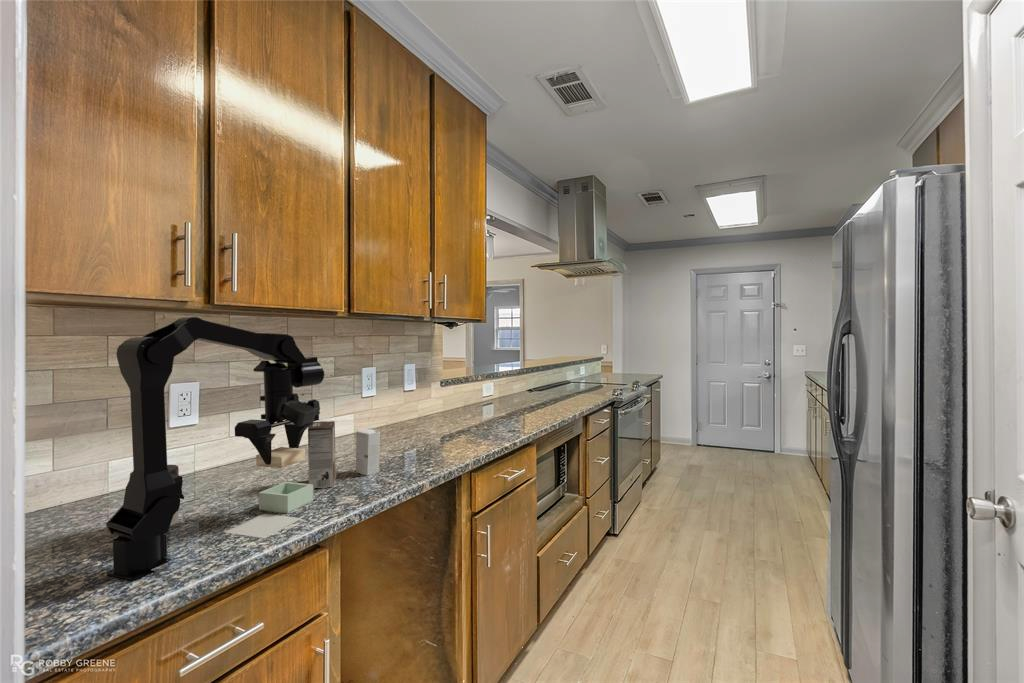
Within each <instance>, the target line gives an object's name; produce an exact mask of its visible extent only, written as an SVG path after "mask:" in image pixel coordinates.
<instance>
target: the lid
mask: <svg viewBox="0 0 1024 683" xmlns="http://www.w3.org/2000/svg"><path fill="white" fill-rule="evenodd" d="M255 460H256V461H255V462H256V463H255V465H256V467H263V468H275V469H284V468H287V467H289V466H292V465H294V464H297V463H300V462H302V461H305V460H307V458H306V448H289V446H288V447H286V446H280V447H277V448H274V449H271V464H270V465H266V464H265V462H264V461H263V459H262V458H261V456H260V454H259V453H258V454H256V455H255Z"/></svg>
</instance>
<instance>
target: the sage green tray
mask: <svg viewBox="0 0 1024 683" xmlns="http://www.w3.org/2000/svg"><path fill="white" fill-rule="evenodd" d="M313 502H314V489H313V484H309V483H302V482H301V483H300V482H291V481H284V482H282V483H279V484H277V485H274V486H271V487H269V488H267V489H264V490H262V491H260V492H258V510H259V511H265V512H270V513H271V512H272V513H280V514H281V513H282V514H291V513H292V512H294V511H296V510H298V509H300V508H302V507H304V506H306V505H308V504H310V503H313Z"/></svg>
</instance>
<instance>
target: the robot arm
mask: <svg viewBox="0 0 1024 683" xmlns="http://www.w3.org/2000/svg"><path fill="white" fill-rule="evenodd" d="M195 341H200V342H204V343H209V344H210V343H211V344H215V345H220V346H225V347H230V348H234V349H240V350H243V351H246V352H249V353H250V354H251V355H254V356H256V357H259V358H261V359H263V360H260V362H259V363H258V365H256V366H255V367H254V368H253V372H256V373H263V389H264V390H263V392H264V394H263V395H260V396H259V400H260V402H261V401H262V402H264V413H263V414H260V419H248V420H244V421H239V422H237V423H236V425H235V426H234V437H238V438H239V437H240V438H244V439H248V440H249V442H250V443H251V444H252V445H253V447H254V448H255V449H256V451H257V452H258V454H260V456H261V458H262V459H263V461H264V462H265V464H266V465H270V464H271V450H272V441H273V439H274V438H275V436H276V435H277V433H271V432H272V429H273V428H277V427H280V426H283V427H284V429H285V434H286V439H287V440H286V441H287V443H288V448H299V447H300V443H301V441H302V438H303V435H304V432H305V431H306V430H308V427H309V426H311V425H312V424H313V422H318V421H319V420H320V414H321V412H320V411H321V405H320V401H319V400H317V399H315V398H314V399H310V400H308V401H307V402H306V401H304V402H302V401H300V399H299V395H298V393H294V388H296V389H297V388H303V387H309V386H311V387H312V386H317V385H320V384H322V383H323V381H324V378H325V370H324V369H323V366H322V364H321V363H320V362H319V361H318V356H317V357H316V356H309V357H305V355H304V354H303V353H302V352H301V350H300V349H299V347H298V345H297V343H296V341H295V339H294V337H293V336H292V335H289V334H288V333H287V334H286V333H267V332H254V331H252V330H251V331H250V330H246V329H243V328H238V327H233V326H229V325H225V324H221V323H217V322H213V321H209V320H205V319H202V318H200V317H198V316H187V317H184V316H183V317H179V318H178V319H176V320H175V321H173V322H171V323H169V324H168V325H165V326H163V327H160V328H157V329H156V330H153V331H150V332H147V333H146V334H145V335H143V336H140V337H139V336H137V337H136V336H135V337H130V338H128V339H125V340H124V341H123V342H122V343H120V345H118V347H117V348H116V354H115V355H116V359H117V363H118V367H119V371H120V374H121V376H122V378H123V380H124V381H125V383H126V385H127V387H128V389H129V392H130V393H129V394H130V415H131V439H132V441H131V442H132V462H133V468H132V469H133V470H132V472H133V474H132V476H131V478H130V477H129V478H130V480H128V482H127V484H126V486H125V491H124V498H123V503H122V505H121V506H120V507H119V509H118V510H117V511H116V512H115V513H114V514H113V515H112V516H111V518H110V519H109V520H108V521H107V522H106V524H105V526H106V528H107V529H108V531H109V533H110V534H111V535H116V536H117V537H116V538H113V539H112V564H113V567H112V569H111V570H108V571H107V572H106V575H107V576H109V577H114V578H118V579H124V580H129V581H135V580H137V579H140V578H141V577H144V576H146V575H148V574H150V573H152V572H154V569H156V568H158V567H161V566H162V565H165V564H167V563H168V562H171V561H172V558H167V556H168V546H167V545H168V544H167V542H168V541H167V540H168V538H167V533H168V532H169V530H170V527H171V526H170V524H171V521H172V518H173V515H174V514H175V513H176V512H177V511H178V510H179V511H180V506H181V500H184V499H185V496H184V494H183V490H182V488H183V483H184V482H183V481H184V480H183V476H182V475H180V474H179V475H174V474H171V473H170V471H169V470H168V466H167V465H168V453H167V446H168V445H167V426H166V401H165V400H166V399H165V388H166V385H167V383H168V381H169V378H170V376H171V374H172V372H173V368H174V361H175V357H176V356H178V355H180V354H181V353H183V352H184V351H186V350H187V349H188V348H189V347H190V346H191V345H192V344H193V343H194V342H195ZM269 360H270V361H273V362H270V361H269ZM286 364H287V365H286Z"/></svg>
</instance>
